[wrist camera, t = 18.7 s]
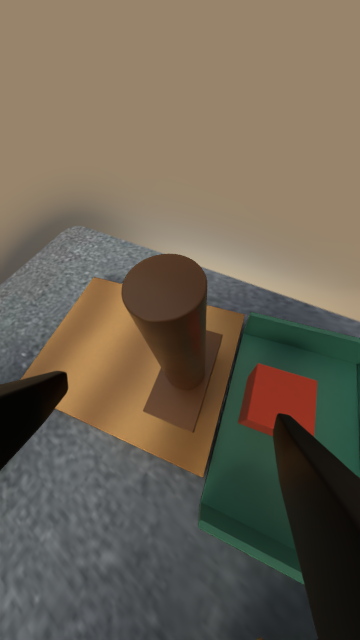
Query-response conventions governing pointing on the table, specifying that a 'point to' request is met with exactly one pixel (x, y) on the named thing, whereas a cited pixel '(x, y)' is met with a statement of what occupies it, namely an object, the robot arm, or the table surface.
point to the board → (130, 375)
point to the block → (277, 399)
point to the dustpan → (258, 448)
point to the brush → (174, 334)
